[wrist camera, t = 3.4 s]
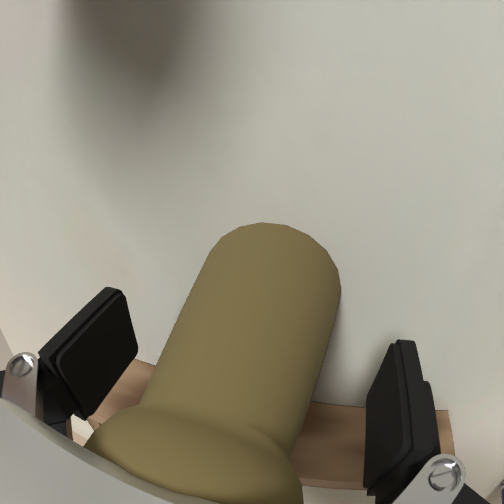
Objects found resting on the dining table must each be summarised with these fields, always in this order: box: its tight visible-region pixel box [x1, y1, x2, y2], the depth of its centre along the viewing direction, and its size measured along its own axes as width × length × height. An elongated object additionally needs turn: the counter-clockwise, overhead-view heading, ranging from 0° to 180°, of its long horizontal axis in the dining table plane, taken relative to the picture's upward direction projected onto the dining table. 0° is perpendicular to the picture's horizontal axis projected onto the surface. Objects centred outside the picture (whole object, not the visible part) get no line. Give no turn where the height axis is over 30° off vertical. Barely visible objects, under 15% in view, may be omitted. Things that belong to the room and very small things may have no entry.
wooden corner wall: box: [87, 359, 455, 490], centre depth 19 cm, size 22×20×5 cm
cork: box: [83, 223, 341, 504], centre depth 8 cm, size 6×6×11 cm
